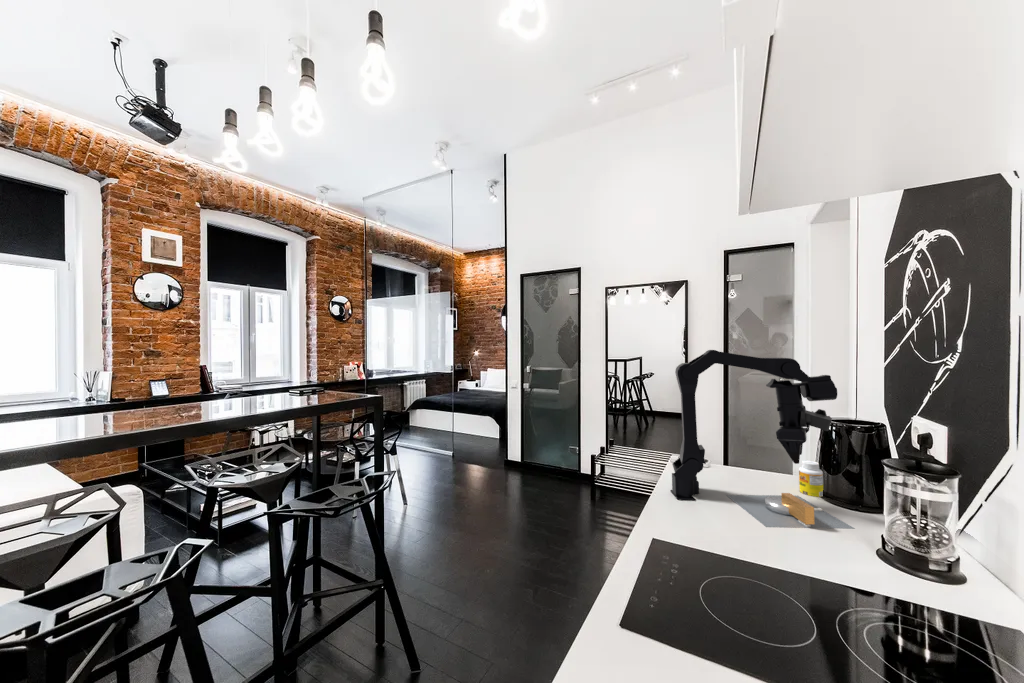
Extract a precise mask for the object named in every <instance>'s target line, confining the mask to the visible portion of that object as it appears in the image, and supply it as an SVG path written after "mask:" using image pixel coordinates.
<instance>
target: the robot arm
mask: <svg viewBox="0 0 1024 683" xmlns="http://www.w3.org/2000/svg"><path fill="white" fill-rule="evenodd" d="M715 364H718V365H724V366H725V365H726V366H730V367H738V368H743V369H747V370H748V369H749V370H754V371H755V370H756V371H759V372H761V373H764V374H768V375H770V376H774V377H777V378H781V379H786V380H778V379H776V378H771V379H770V380H769V382H768V383H767V384H766V385H765V386H766V387H767V388H770V389H775V395H776V404H777V407H776V410H777V412H778V416H779V422H778V423H779V424H778V425H779V426H780V427H778V428H777V430H776V431H775V435H776V440H778V442H779V443H780V444H781V445H782V447H783V449H784V450H785V452H786V453H787V455H788V456H789V457H790V459H791V461H792V462H793V464H795V465H796V464H797V465H798V464H800V458H801V457H800V455H802V454H803V447H804V446H803V445H804V444H805V443H807V439H808V438H807V437H808V436H807V433H809V432H810V427H812V428H813V427H814V428H817V429H820V431H825V432H829V431H830V430H829V429H830V426H831V424H832V420H833V417H831V415H827V412H826V409H825V410H824V409H820V408H818V409H817V410H816V411H810V410H807V409H806V406H805V405H804V404H803V399H806V400H807V401H808V402H820V401H823V402H824V401H834V400H836V399H837V398H838V389H837V388H838V387H836V385H835V383H834V381H833V380H832V377H831V375H829V374H821V375H817V376H815V375H814V376H809V375H808V374H807V373H805V372H804V371H803V370H802V369H801V365H800V363H799V362H798V360H796V359H794V358H790V357H758V356H757V357H756V356H752V355H751V356H749V355H745V354H738V353H731V352H724V351H720V350H719V351H718V350H715V349H707V350H705V352H704V353H702V354H700V355H699V356H697V357H695V358H694V359H691V360H690V361H688V362H683V363H680V364H678V366H676V367H675V378H676V380H677V385H678V388H679V392H680V403H681V404H680V405H681V406H680V407H681V408H680V409H681V423H682V424H681V425H682V441H681V445H680V449H679V450H680V452H679V457H678V458H677V459H676V460H675V461H674V462H672V467H673V471H674V472H672V473H671V489H669V490H670V493H671V494H672V495H673V496H674V498H675V499H677V500H688V501H689V500H692V501H693V500H696V498H695V497H694V496H695V495H700V481H698V477H697V474H699V473H700V472H701V471H703V470H704V465H706V464H707V462H706V461H705V454H706V449H705V448H704V446H703V445H702V444H699V443H698V428H697V410H696V408H697V407H696V393H697V392H696V391H697V389H698V388H697V387H698V382H699V375H701V374H702V373H704V372H705V371H707V370H708V369H709V368H711V367H712V366H713V365H715ZM791 380H792V381H797V382H792V381H791Z"/></svg>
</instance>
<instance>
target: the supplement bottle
mask: <svg viewBox="0 0 1024 683" xmlns="http://www.w3.org/2000/svg"><path fill="white" fill-rule="evenodd" d="M798 479H799V480H798V483H799V484H798V485H799V493H800V494H803V495H805V496H808V497H815V498H821V497H824V496H823V490H824V472H823V471H822V469H820V464H819V462H817V461H813V460H808V459H807V460H802V461H801V466H800V467H799V468H798Z"/></svg>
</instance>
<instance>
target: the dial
mask: <svg viewBox="0 0 1024 683" xmlns="http://www.w3.org/2000/svg"><path fill="white" fill-rule="evenodd" d="M781 496H782V497H781ZM781 496H768V497H766V498H765V507H766V508H767V509H768V510H770V511H772V512H774V513H777V514H781V515H786V516H794V517H796V518H797V519H799V520H800V521H802V522H803V523H805V524H814V507H812V506H811V505H809V504H807V503H805V502H804V501H802V500H800V499H799V498H797V497H795V496H796V495H793V494H792V493H790V492H781Z"/></svg>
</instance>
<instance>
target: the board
mask: <svg viewBox="0 0 1024 683" xmlns="http://www.w3.org/2000/svg"><path fill="white" fill-rule="evenodd" d="M768 496H781V495H778V494H777V495H776V494H774V495H772V494H771V495H769V494H768V495H767V494H765V495H764V494H761V495H760V494H756V495H755V494H726V497H727V498H729V499H730V500H732V501H733V502H734V503H735V504H737V505H738V506H739V507H740V508H741V509H742V510H745V512H746V513H748V515H751V517H752V518H754V519H755V520H756V521H758V522H759V523H760V524H762V525H763V526H764V527H765V528H784V529H785V528H789V529H790V528H791V529H792V528H795V529H803V528H804V529H856V528H855V527H853V526H852V525H850V524H848V523H846V522H844V521H843V520H841V519H840V518H837V517H836V516H834V515H832V514H831V513H830V512H828V511H826V510H824V509H823V508H821V507H819V506H817V505H815V504H813V503H812V502H810V501H808V500H806V499H805V498H803V497H802V496H800V495H794V496H795V497H797V498H799V499H800V500H802V501H804V502H805V503H807V504H809V505H811V506H812V507H814V524H805V523H803V522H802V521H800V520H799V519H797V518H796V517H794V516H786V515H781V514H777V513H774V512H772V511H770V510H768V509H767V508H766V507H765V498H766V497H768ZM781 497H782V496H781Z"/></svg>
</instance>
